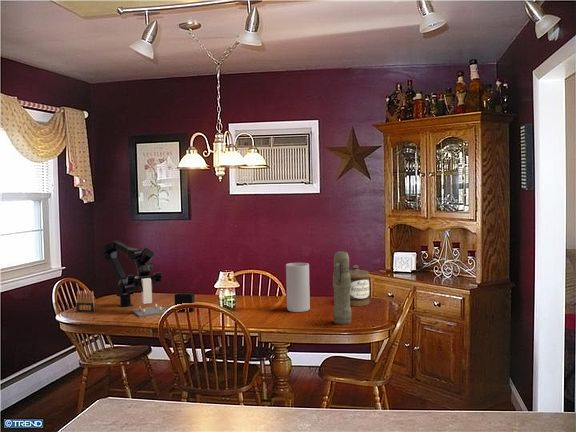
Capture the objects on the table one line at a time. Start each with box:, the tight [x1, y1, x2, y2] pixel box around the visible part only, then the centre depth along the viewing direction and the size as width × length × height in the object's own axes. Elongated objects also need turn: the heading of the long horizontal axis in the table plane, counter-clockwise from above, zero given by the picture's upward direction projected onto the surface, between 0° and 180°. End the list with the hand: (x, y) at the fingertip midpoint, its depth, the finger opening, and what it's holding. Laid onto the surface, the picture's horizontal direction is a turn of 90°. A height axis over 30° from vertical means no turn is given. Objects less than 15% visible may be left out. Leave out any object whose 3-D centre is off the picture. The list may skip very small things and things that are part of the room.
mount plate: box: [131, 303, 167, 318], centre depth 318 cm, size 16×16×3 cm
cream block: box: [141, 278, 153, 305], centre depth 316 cm, size 4×4×13 cm
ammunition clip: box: [76, 290, 96, 313], centre depth 323 cm, size 11×2×12 cm, turn 78°
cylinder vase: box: [285, 262, 311, 313], centre depth 315 cm, size 12×12×25 cm
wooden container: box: [349, 264, 370, 307], centre depth 328 cm, size 15×15×22 cm
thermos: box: [332, 250, 352, 325], centre depth 286 cm, size 9×12×35 cm
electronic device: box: [174, 292, 196, 313], centre depth 318 cm, size 4×10×10 cm, turn 78°
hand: (147, 291), depth 314 cm, fingers closed on cream block, 4 cm apart
